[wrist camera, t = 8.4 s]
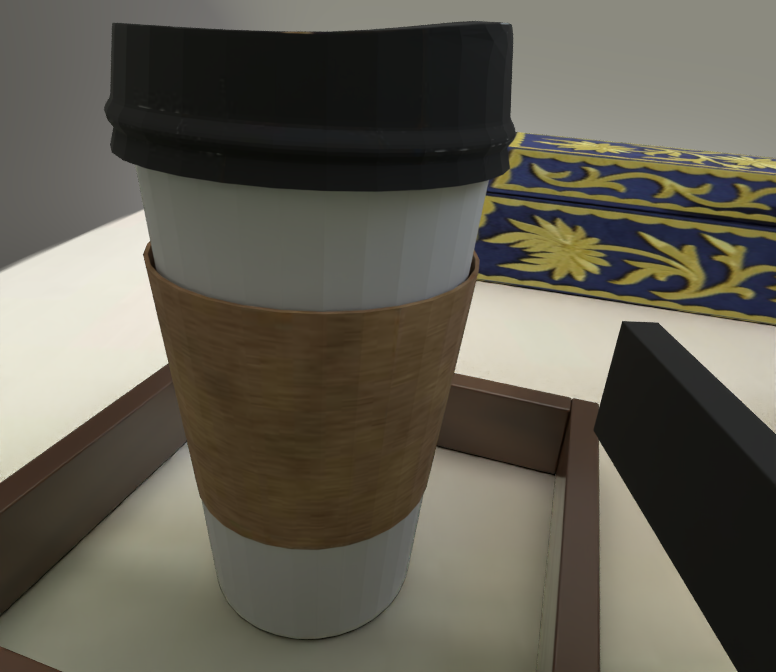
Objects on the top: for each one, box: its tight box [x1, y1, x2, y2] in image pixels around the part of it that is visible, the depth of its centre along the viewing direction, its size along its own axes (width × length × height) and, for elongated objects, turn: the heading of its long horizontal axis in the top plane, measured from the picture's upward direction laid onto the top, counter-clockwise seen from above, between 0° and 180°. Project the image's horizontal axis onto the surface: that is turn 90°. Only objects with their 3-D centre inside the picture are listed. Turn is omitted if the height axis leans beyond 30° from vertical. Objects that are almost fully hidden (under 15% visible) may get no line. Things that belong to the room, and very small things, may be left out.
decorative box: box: [474, 132, 776, 325], centre depth 42 cm, size 11×30×9 cm, turn 75°
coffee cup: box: [104, 21, 515, 639], centre depth 15 cm, size 8×8×15 cm
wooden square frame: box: [0, 363, 600, 672], centre depth 18 cm, size 16×16×3 cm
